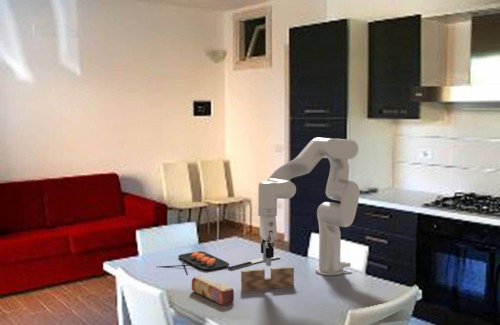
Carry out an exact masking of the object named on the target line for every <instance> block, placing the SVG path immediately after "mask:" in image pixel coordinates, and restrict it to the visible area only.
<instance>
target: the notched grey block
mask: <svg viewBox="0 0 500 325" xmlns="http://www.w3.org/2000/svg"><path fill="white" fill-rule="evenodd" d="M266 248H267V246H266V243H263V253H262V257H263V261H262V262H263V264H265V265H266V266H267V267H272V259H271V258H266Z"/></svg>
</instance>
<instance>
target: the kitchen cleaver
mask: <svg viewBox="0 0 500 325" xmlns="http://www.w3.org/2000/svg"><path fill="white" fill-rule="evenodd" d="M258 258H259V259H258ZM258 258H255V260H254V259H250V260H247V261H243V262H242V263H239V264H235V265H232V266H227V270H228V271H235V270H238V269H241V268H247V267H248V266H251V265H253V264H257V263H261V262H263V258H262V257H258ZM280 258H281V256H280V255H274V257H273V258H271V260H273V259H274V260H275V259H280Z"/></svg>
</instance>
